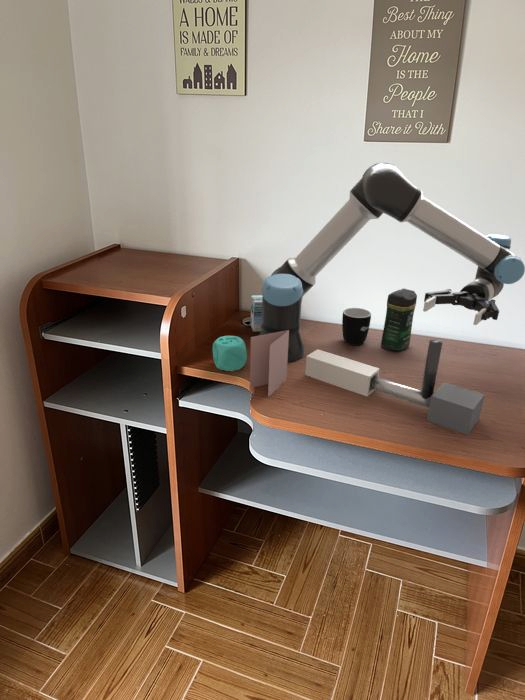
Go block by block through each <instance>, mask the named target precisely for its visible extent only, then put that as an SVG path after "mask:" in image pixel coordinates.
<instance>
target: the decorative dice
mask: <svg viewBox="0 0 525 700" xmlns="http://www.w3.org/2000/svg"><path fill="white" fill-rule="evenodd" d="M247 353H248V351H247V348H246V343H245V341H244V339H242V338H241V337H240V336H236V335H224V336H219V337H218V338H217V339H216V340H214V342H213V343H212V357H213V361H214V365H215V367H216V368H217V369H218V370H219V369H220V371H222V370H225V371H224V372H227V371H231V372H234V371H233V370H237V371H239V370H241V369H242V368H243V367H245V365H246V364H247V358H248V354H247Z"/></svg>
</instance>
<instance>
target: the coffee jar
mask: <svg viewBox="0 0 525 700" xmlns="http://www.w3.org/2000/svg"><path fill="white" fill-rule="evenodd" d="M417 298H418V295H417V293H416V292H415V290H411V289H407V288H405V287H404V288H401V289H397V290H395V291H392V292H391V293H389V294H388V295H387V300H386V312H385V320H384V325H383V330H382V335H381V340H380V342H381V343H380V345H381V347H383V348H384V349H386V350H390V351H398V352H400V351H404V350H405V349H407V348H408V347H409V345H410V343H411V337H412V329H413V328H412V327H413V321H414V313H415V310H416V305H417Z"/></svg>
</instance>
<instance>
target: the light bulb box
mask: <svg viewBox="0 0 525 700" xmlns="http://www.w3.org/2000/svg"><path fill="white" fill-rule="evenodd" d="M262 298H263V295H260V294H258V295H256V294H255V295H251V297H250V299H251V300H250V327H251V329H252V332H255V333H256V332H260V331H261V328H262Z"/></svg>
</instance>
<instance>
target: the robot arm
mask: <svg viewBox="0 0 525 700" xmlns="http://www.w3.org/2000/svg"><path fill="white" fill-rule="evenodd" d="M383 214H385V215H387V216H389V217H391V218H393V219H394V220H396V221H398V222H399V223H405V222H406V223H408V224H410V225H411V226H413V227H415V228H417V229H418V230H420V231H421V232H423V233H424V234H426V235H427V236H430V237H431V238H432V239H434V240H436V241H438V242H439V243H440V244H441V245H444V246H445V247H447V248H449V249H450V250H452V251H454V252H455V253H457V254H458V255H460V256H462V257H463V258H464V259H466V260H469V262H472V264H475V266H477V269H476V273H475V277H474V280H473V281H471V282H469V283H468V284H466V285H464V286H463V287H462V288H461V290H460V291H459V292H452V289H450V288H446V289H444V290H439V291H438V290H437V291H432V292H431V291H430V292H425V293H424V300H423V301H424V304H423V308H422V312H425V313H426V312H428V311H429V310H431V309H432V308H434V307H436V305H452V306H460V307H464V308H466V309H467V310H470V311H475V312H477V313H475V316H474V321H473V325H474V326H477V325H478V324H480V323H481V322H482V321H487V320H488V319H490V318H491V319H492V320H494V321H497V320H498V317H499V314H500V310H499V307H498V306H497V304H496V300H495V299H494V298H495V297H497V296H499V294H500V293H502V291H503V289H504V286H505V285H513V284H515V283H517V282H519V281H520V280H521V279H522V278H523V276H524V274H525V263H524V262H523V260H522V259H521V257H519V256H517V255H515V253H513V252H512V251H511V250H510V249H511V244H512V238H510V237H509V236H507V235H504V234H495V233H492V234H487V235H484V234H483V233H481V232H480V231H478V230H477V229H475V228H473V227H472V226H470V225H468V224H467V223H466V222H464V221H463V220H461V219H459V218H457V217H456V216H454V215H453V214H451V213H450V212H448V211H446V210H445V209H443V208H442V207H440V206H439V205H437V204H436V203H434V202H432V201H431V200H430V199H427V198H426V197H424V194H423V191H422V190H421V189H420V188H418V187H417V186H415V185H414V184H413V183H412V182H410V181H409V180H408V179H407V177H406V176H405V175H404V174H403V173H402V172H401V170H400V169H399V168H398V167H397V166H395V164H392V163H389V162H384V161H383V162H378V163H377V162H376V163H374V164H373V165H370V166H368V168H367V169H366V170H365V171H364V173H363V174H362V177H361V179H359V180H358V182H357V183H355V185H354V186H353V187H352V188H351V189H350V191H349V198H348V200H347V201H346V203H344V204H343V206H342V207H341V208H340V209H338V211H337V212H336V213H335V214H334V215H333V216H332V218H330V220H329V221H328V222H327V223H326V224H325V225H324V226H323V228H321V229H320V231H318V233H317V234H316V235H315V236H314V237H313V238H312V240H310V241H309V242H308V244H307V245H306V246H305V247H304V248H303V249H302V250H301V251H300V253H298V254H297V255H296V257H289V258H287V259H286V260H285V261H284V263H282V265H281V266H280V267H277V268H276V269H275V270H273V272H272V273H271V274H270V275H269V276H267V277H266V278H265V279H264V281H263V283H262V288H261V294H262V295H263V298H262V328H261V331H259V334H258V336H259V335H265V334H270V333H276V332H281V331H287V330H289V342H288V361H287V363H290V362H295V361H298V360H300V359H301V358H303V357H304V354H305V344H304V341H303V338H302V337H303V336H302V334H301V315H302V303H303V298H304V296H305V295H306V294H307V293H308V292H309V291H310V290H311V288H312V287H314V285H316V276H317V275H319V273H320V272H321V271H322V270H323V269H324V268H325V267H326V266H327V265H328V264H329V263H330V262H331V261H332V260H333V259H334V258H335V256H337V255H338V254H339V253H340V252H341V250H342V249H343V248H344V247H345V246H347V244H348V243H349V242H350V241H351V240H352V239H353V238H354V237H355V236H356V235H357V234H358V233H359V232H360V231H361V229H362V228H364V227H365V225H366V224H367V223H369V222H370V221H371V220H378V219H379V218H380V217H381V216H382V215H383Z"/></svg>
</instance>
